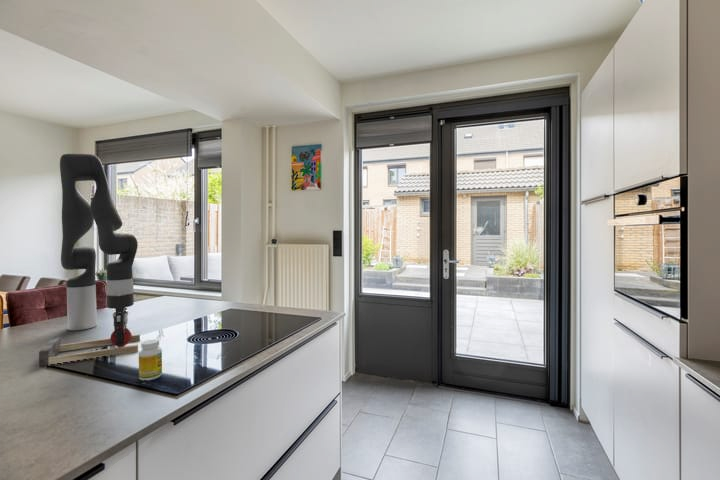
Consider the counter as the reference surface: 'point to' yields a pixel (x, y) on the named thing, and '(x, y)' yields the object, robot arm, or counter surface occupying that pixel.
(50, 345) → the guide rails
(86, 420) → the counter surface
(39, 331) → the counter surface
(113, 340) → the onion
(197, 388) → the counter surface
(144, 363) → the supplement bottle
